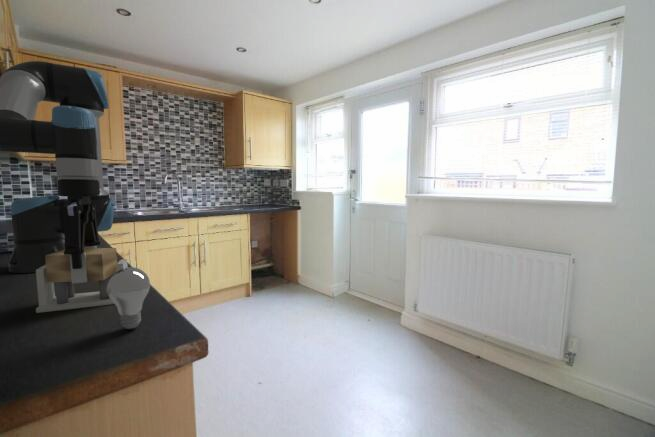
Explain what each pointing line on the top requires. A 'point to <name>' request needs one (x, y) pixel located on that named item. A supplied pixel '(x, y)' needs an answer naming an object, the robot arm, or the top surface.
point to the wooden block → (97, 260)
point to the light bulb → (128, 294)
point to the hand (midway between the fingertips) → (85, 277)
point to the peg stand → (70, 293)
